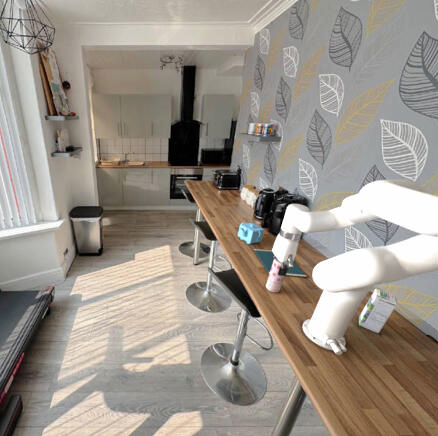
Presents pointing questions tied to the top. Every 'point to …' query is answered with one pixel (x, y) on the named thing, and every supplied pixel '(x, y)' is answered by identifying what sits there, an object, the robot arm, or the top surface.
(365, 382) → the top surface
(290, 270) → the teal book
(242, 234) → the light blue box
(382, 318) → the syrup box
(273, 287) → the beverage can
